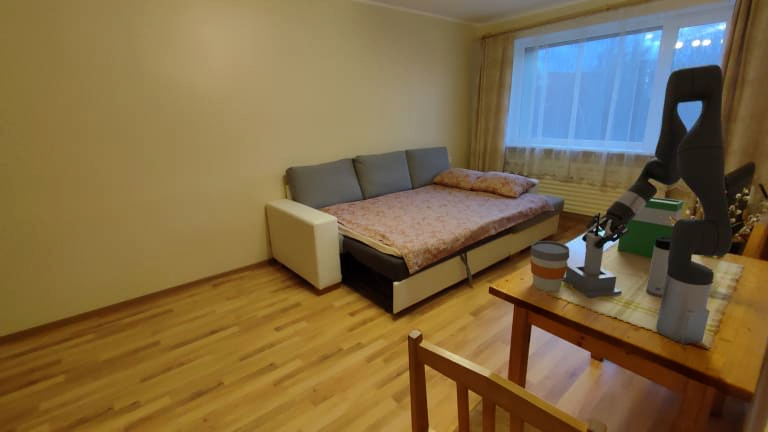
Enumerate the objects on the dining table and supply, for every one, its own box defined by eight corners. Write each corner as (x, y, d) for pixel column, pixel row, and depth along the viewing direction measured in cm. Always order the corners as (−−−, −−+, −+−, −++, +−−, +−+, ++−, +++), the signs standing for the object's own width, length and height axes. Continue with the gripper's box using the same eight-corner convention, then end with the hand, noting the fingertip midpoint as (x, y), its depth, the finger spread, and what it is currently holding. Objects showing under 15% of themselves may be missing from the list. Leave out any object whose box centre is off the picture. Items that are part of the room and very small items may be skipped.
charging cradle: (621, 294, 119) (623, 279, 117) (589, 298, 118) (591, 282, 116) (588, 273, 134) (590, 260, 133) (559, 277, 133) (561, 263, 131)
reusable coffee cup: (552, 297, 119) (556, 256, 115) (520, 284, 129) (523, 246, 125) (573, 286, 126) (577, 247, 121) (541, 274, 136) (544, 238, 131)
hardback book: (617, 250, 154) (625, 197, 148) (623, 245, 159) (631, 194, 152) (666, 261, 141) (678, 204, 134) (672, 256, 146) (683, 200, 139)
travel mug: (660, 299, 115) (672, 242, 109) (641, 290, 121) (651, 235, 115) (675, 296, 116) (687, 239, 111) (655, 287, 122) (665, 233, 117)
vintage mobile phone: (592, 275, 128) (600, 210, 120) (598, 282, 123) (608, 214, 116) (581, 275, 128) (589, 210, 121) (587, 282, 123) (596, 214, 116)
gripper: (604, 196, 125) (570, 231, 127) (637, 206, 111) (598, 245, 113) (615, 209, 127) (581, 243, 129) (649, 220, 113) (611, 258, 115)
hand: (589, 243), depth 121 cm, fingers closed on vintage mobile phone, 5 cm apart
